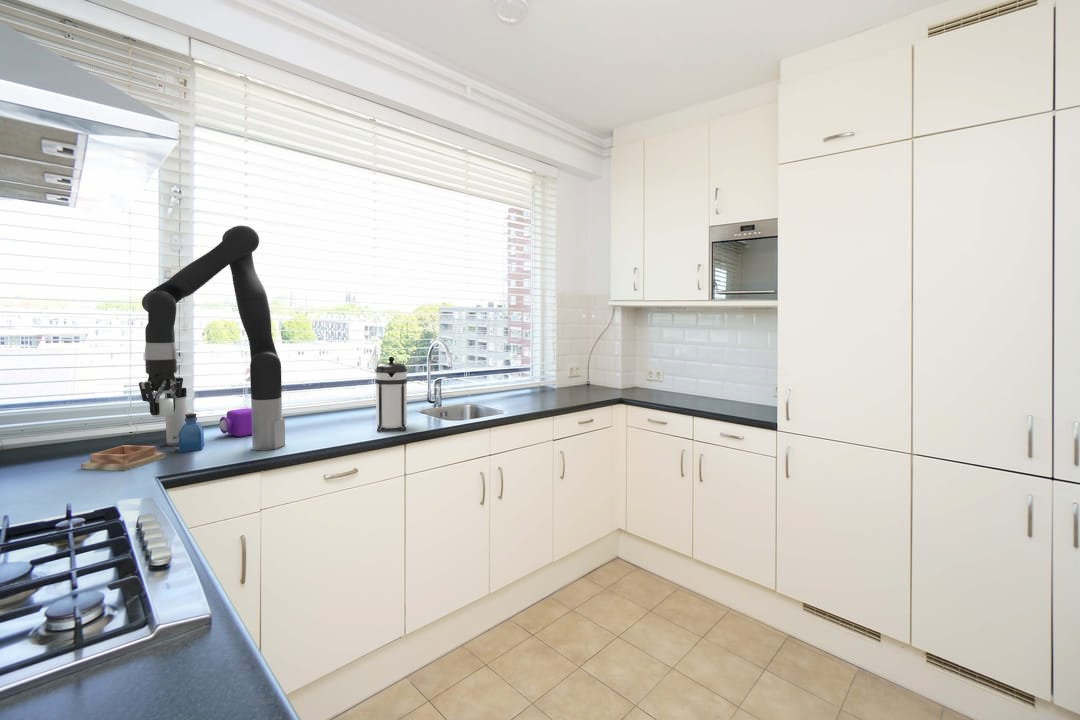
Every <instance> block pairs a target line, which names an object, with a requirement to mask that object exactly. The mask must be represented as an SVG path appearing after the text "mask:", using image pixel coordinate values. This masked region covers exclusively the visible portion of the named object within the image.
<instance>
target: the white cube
mask: <svg viewBox="0 0 1080 720" xmlns="http://www.w3.org/2000/svg"><path fill="white" fill-rule="evenodd" d="M158 403H159V412H160V414H159V415H151V416H152V417H153V418H154V417H155V418H163V417H164V418H166V416H172V415H174V407H173V398H165V397H160V399H159V402H158Z"/></svg>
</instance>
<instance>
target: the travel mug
mask: <svg viewBox="0 0 1080 720" xmlns="http://www.w3.org/2000/svg"><path fill="white" fill-rule="evenodd" d="M175 393H177V389H176V392H175ZM164 398H166V396H165V395H164ZM185 414H189V413H188V393H187V387H182V391H181V396H180V397H177V398H176V399H175V411H174V415H172V416H166V417H165V433H166V436H165V437H166V445H167V446H172V447H174V446H177V447H178V446H179V432H180V430H181V428H182V426H183V425H184V424H185V423H186V422H185V418H186V416H185Z"/></svg>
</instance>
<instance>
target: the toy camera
mask: <svg viewBox="0 0 1080 720" xmlns="http://www.w3.org/2000/svg"><path fill="white" fill-rule="evenodd" d="M218 425H219V429H220V432H221V433H222V434H224V435H225V434H228V435H231V436H234V437H239V438H242V437H246V436H252V410H251V408H250V407H245V408H239V409H232V410H228V411H227V412H226V417H225V416H221V417H220V419H219V423H218Z"/></svg>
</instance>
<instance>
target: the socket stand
mask: <svg viewBox="0 0 1080 720" xmlns="http://www.w3.org/2000/svg"><path fill="white" fill-rule="evenodd" d="M162 459H166V453H165V452H158V450H157V446H156V445H134V444H133V445H129V444H128V445H127V444H123V445H119V446H115V447H112V448H108V449H105V450H102V451H97V452H94V453H90V454H89V461H86V462H84V463H83V462H82V463H80V469H81V470H98V471H99V470H101V471H118V470H127V471H129V470H128V469H130V470H132V469H131V468H133V469H136V468H138V466H139V467H142V466H145V465H148V464H151V463H153V462H157V461H159V460H162ZM150 462H151V463H150ZM147 463H148V464H147ZM144 464H145V465H144ZM141 465H142V466H141ZM135 467H136V468H135Z"/></svg>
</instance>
